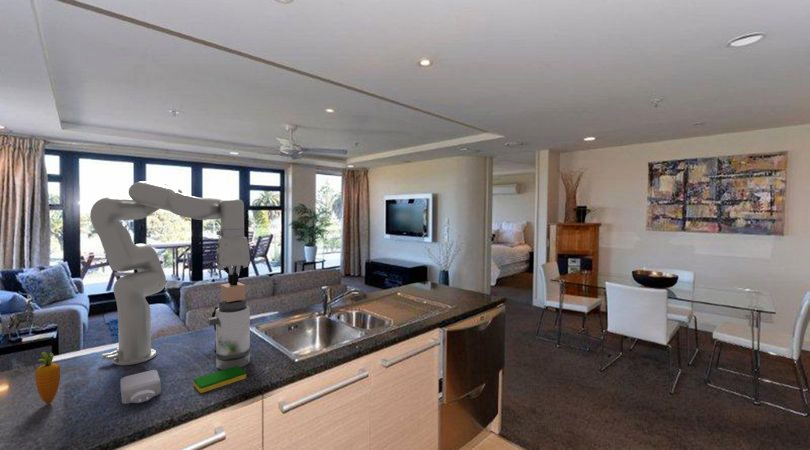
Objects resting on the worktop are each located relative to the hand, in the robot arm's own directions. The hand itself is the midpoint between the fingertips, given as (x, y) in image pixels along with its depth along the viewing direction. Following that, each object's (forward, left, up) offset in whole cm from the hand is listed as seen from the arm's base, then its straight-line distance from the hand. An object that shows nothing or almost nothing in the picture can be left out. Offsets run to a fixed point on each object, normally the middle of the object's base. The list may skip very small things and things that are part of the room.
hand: (233, 284), depth 126 cm
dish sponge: (-8, -11, -30) cm, 32 cm away
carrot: (-47, +9, -29) cm, 56 cm away
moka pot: (+3, +15, -29) cm, 33 cm away
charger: (-28, -5, -29) cm, 41 cm away
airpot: (-1, 0, -29) cm, 29 cm away
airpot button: (0, 0, -5) cm, 5 cm away
